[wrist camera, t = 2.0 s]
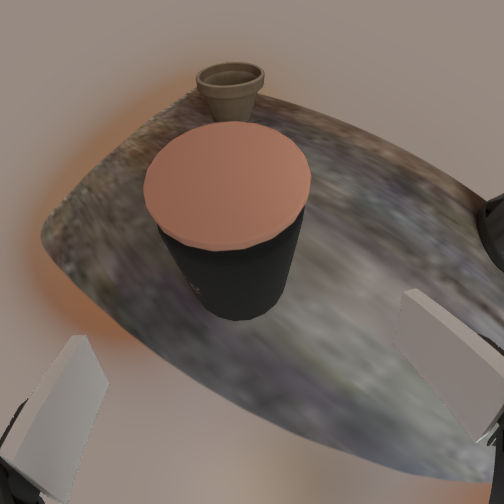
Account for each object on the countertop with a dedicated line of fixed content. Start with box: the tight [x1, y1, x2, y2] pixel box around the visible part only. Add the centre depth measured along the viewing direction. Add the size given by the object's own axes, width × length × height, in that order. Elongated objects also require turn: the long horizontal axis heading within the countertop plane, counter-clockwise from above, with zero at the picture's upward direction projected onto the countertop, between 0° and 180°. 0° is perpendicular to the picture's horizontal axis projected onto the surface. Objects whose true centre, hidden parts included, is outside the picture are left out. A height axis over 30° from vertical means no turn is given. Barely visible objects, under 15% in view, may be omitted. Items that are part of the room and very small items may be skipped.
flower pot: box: [196, 62, 264, 123], centre depth 43 cm, size 12×11×10 cm
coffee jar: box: [143, 121, 311, 321], centre depth 24 cm, size 11×11×18 cm
